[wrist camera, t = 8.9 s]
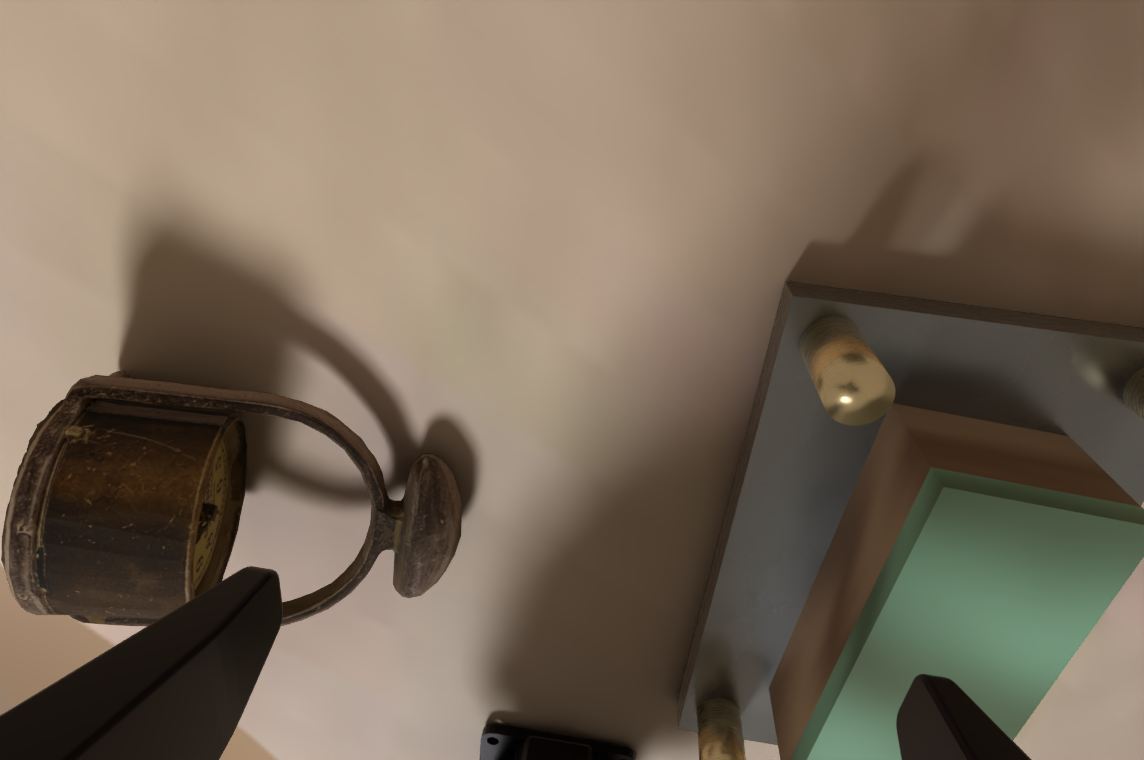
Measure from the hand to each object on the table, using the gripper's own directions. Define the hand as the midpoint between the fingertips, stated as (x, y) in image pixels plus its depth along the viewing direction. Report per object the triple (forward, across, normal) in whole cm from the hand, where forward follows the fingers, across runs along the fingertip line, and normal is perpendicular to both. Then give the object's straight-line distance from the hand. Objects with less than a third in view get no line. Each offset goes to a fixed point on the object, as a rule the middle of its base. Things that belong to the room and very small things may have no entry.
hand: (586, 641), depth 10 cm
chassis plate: (+12, -10, +7) cm, 17 cm away
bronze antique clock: (+12, +11, +8) cm, 18 cm away
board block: (+11, -10, +7) cm, 16 cm away
